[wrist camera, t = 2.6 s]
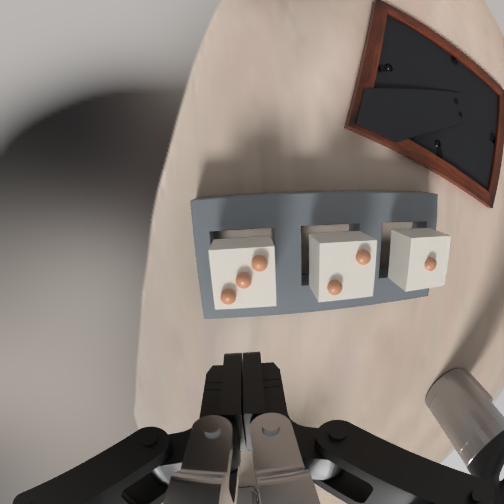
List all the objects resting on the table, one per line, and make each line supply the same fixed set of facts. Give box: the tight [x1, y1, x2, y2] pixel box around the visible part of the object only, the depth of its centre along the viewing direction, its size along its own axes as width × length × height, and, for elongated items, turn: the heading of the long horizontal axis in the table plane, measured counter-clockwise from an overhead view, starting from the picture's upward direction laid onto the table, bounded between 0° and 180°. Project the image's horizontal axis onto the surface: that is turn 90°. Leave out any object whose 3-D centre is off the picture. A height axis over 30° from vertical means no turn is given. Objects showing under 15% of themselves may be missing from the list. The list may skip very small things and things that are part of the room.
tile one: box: [388, 228, 451, 292], centre depth 24 cm, size 5×5×5 cm
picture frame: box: [344, 0, 504, 208], centre depth 25 cm, size 20×2×25 cm
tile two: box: [309, 231, 377, 302], centre depth 24 cm, size 5×5×5 cm
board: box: [190, 191, 438, 319], centre depth 28 cm, size 26×12×3 cm, turn 93°
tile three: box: [208, 236, 277, 310], centre depth 24 cm, size 5×5×5 cm
